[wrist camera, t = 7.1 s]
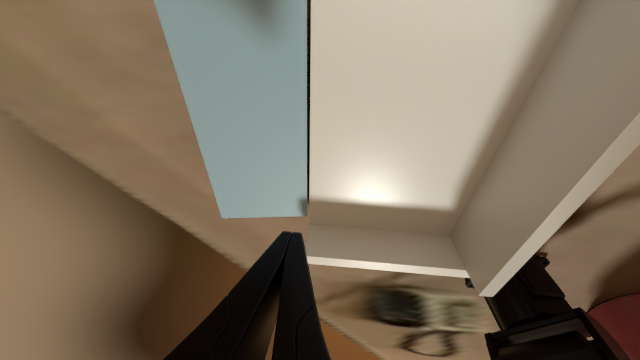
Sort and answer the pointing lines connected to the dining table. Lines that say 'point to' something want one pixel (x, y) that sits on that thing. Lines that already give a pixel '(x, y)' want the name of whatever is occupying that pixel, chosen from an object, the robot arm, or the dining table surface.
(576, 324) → the robot arm
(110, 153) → the dining table surface
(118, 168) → the dining table surface
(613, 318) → the plant pot
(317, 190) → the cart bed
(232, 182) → the tailgate
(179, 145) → the dining table surface
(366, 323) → the dining table surface
